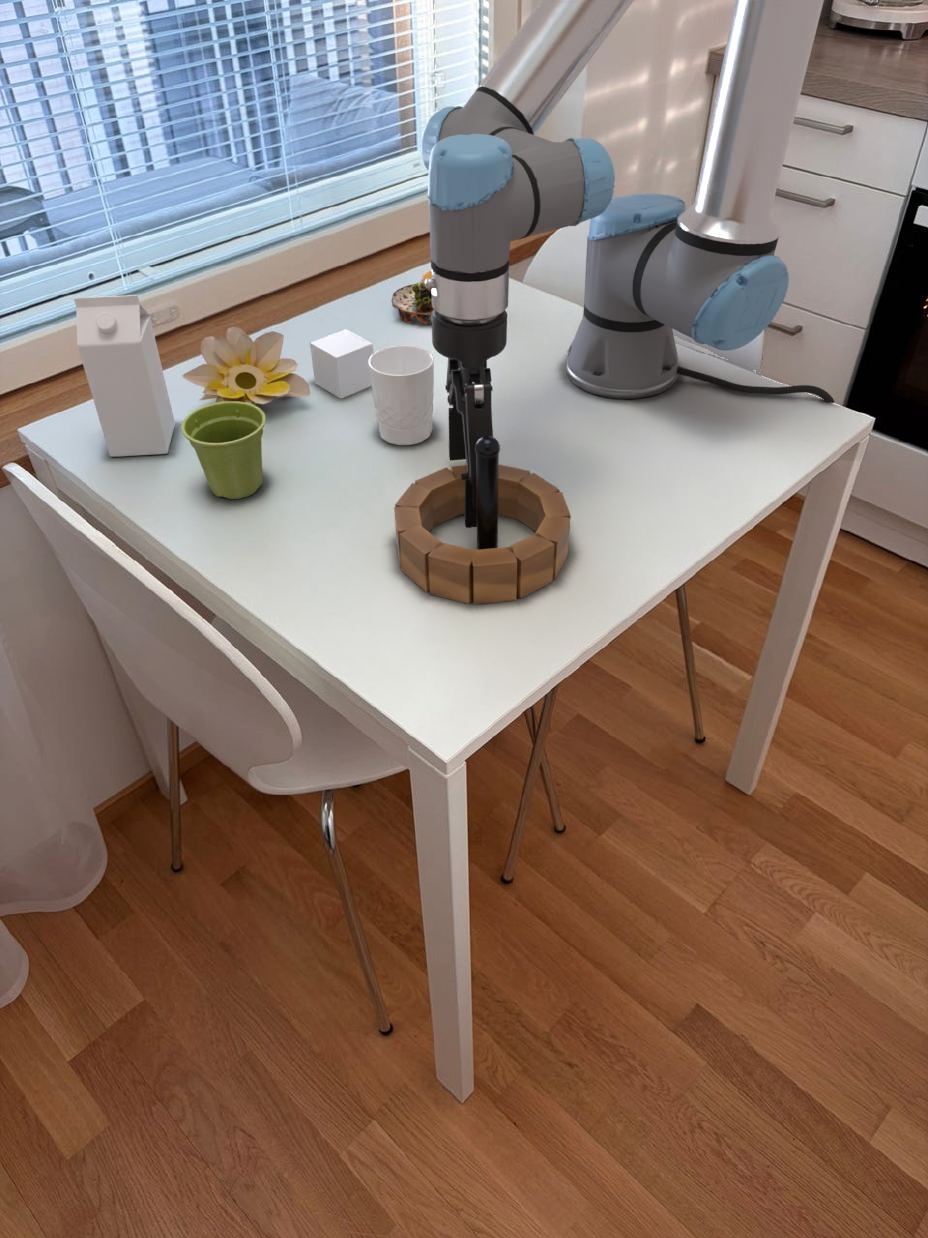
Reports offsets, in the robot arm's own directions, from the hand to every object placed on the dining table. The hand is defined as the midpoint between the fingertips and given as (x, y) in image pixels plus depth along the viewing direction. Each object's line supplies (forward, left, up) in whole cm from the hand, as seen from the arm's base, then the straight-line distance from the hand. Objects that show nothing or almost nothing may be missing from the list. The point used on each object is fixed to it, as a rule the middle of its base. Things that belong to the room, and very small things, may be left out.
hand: (468, 490), depth 112 cm
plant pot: (+27, -9, -3) cm, 28 cm away
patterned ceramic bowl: (-1, -54, -3) cm, 54 cm away
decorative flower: (+26, -28, -3) cm, 38 cm away
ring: (0, +8, -3) cm, 8 cm away
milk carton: (+39, -21, -3) cm, 44 cm away
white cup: (+6, -18, -3) cm, 19 cm away
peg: (0, +11, -3) cm, 12 cm away
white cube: (+13, -32, -3) cm, 34 cm away
